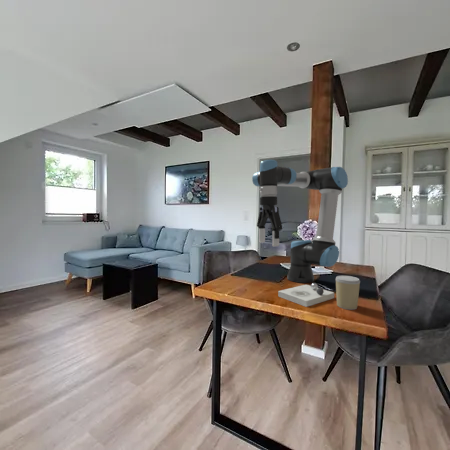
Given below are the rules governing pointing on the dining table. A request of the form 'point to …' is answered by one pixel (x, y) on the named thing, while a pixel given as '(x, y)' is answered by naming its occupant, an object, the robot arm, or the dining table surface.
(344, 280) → the coffee cup
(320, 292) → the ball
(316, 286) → the steel ball
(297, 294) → the board
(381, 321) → the dining table surface
